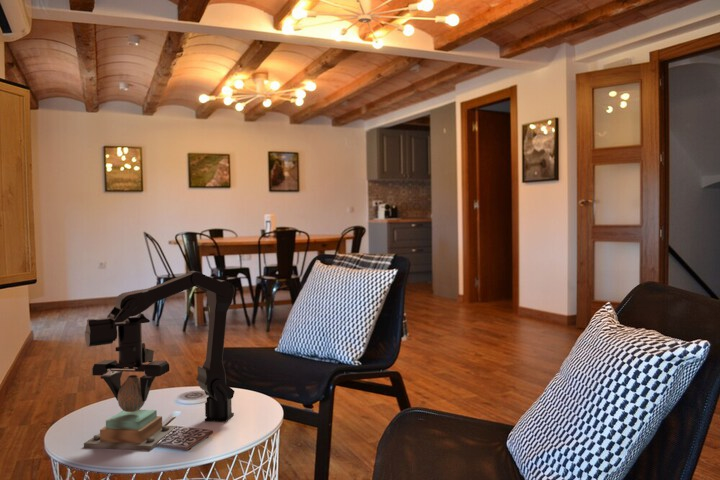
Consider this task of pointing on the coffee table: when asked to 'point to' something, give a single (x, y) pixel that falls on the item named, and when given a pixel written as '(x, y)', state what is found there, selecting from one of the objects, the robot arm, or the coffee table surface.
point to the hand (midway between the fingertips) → (131, 400)
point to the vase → (130, 394)
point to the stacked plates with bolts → (131, 431)
